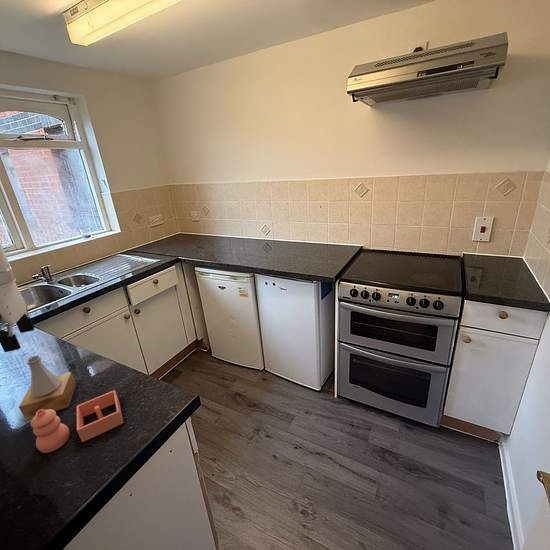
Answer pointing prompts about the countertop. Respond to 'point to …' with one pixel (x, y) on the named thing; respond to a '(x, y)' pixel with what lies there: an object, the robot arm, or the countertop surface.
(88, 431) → the pottery
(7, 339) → the robot arm
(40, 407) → the oak block
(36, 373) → the flask
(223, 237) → the countertop surface
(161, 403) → the countertop surface
